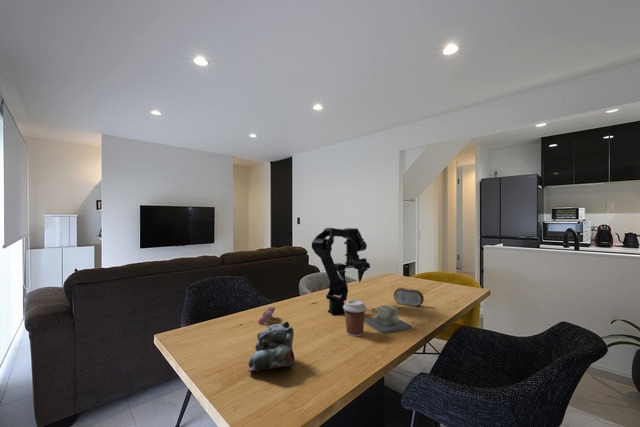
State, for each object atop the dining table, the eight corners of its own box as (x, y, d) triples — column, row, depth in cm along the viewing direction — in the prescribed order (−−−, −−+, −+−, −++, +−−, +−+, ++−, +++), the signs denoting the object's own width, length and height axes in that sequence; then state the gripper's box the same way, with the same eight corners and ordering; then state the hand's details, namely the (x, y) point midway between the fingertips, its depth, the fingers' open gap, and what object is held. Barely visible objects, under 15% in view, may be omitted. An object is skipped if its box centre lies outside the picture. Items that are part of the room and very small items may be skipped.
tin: (423, 306, 141) (423, 290, 141) (422, 308, 138) (422, 291, 138) (394, 302, 149) (394, 286, 149) (393, 303, 146) (393, 287, 146)
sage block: (385, 325, 112) (385, 310, 112) (377, 320, 118) (377, 306, 118) (397, 323, 115) (397, 309, 115) (388, 318, 120) (388, 305, 120)
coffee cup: (366, 339, 102) (366, 306, 103) (341, 336, 104) (341, 305, 104) (367, 329, 111) (366, 299, 111) (344, 327, 113) (344, 298, 113)
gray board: (383, 333, 107) (383, 330, 107) (364, 321, 120) (364, 318, 120) (411, 328, 113) (411, 325, 113) (390, 317, 125) (390, 314, 125)
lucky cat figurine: (238, 372, 79) (243, 321, 86) (266, 372, 88) (269, 326, 95) (278, 370, 73) (280, 315, 80) (304, 370, 81) (304, 320, 88)
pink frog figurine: (266, 328, 116) (274, 313, 116) (257, 323, 116) (264, 308, 116) (270, 320, 126) (277, 306, 126) (262, 315, 126) (269, 301, 126)
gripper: (343, 255, 131) (343, 288, 131) (376, 253, 138) (376, 284, 138) (333, 252, 141) (333, 283, 141) (364, 251, 149) (364, 280, 148)
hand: (352, 282), depth 142 cm, fingers open, 9 cm apart
